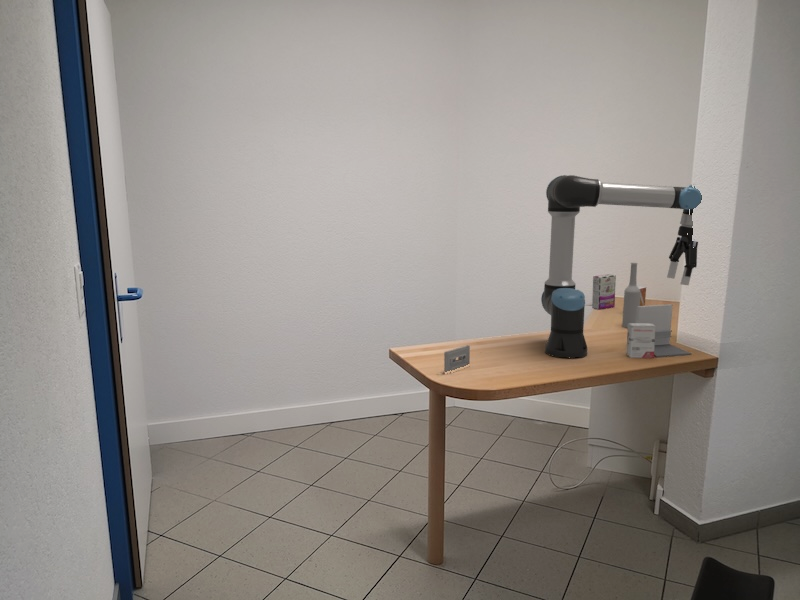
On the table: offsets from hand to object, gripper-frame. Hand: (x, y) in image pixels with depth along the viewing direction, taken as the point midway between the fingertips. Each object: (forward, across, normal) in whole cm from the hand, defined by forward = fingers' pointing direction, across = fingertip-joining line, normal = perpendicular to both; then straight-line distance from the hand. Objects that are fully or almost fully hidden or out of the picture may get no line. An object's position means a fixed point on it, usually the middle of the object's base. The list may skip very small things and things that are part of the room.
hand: (677, 281), depth 227 cm
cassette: (+36, -38, +81) cm, 96 cm away
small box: (+25, +49, -5) cm, 56 cm away
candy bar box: (+27, +64, +6) cm, 70 cm away
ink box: (+26, -20, +15) cm, 37 cm away
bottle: (+26, +24, +5) cm, 36 cm away
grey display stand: (+25, -12, +6) cm, 28 cm away
